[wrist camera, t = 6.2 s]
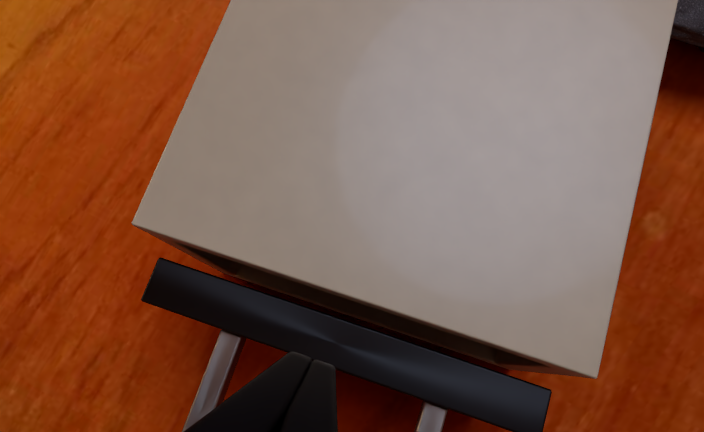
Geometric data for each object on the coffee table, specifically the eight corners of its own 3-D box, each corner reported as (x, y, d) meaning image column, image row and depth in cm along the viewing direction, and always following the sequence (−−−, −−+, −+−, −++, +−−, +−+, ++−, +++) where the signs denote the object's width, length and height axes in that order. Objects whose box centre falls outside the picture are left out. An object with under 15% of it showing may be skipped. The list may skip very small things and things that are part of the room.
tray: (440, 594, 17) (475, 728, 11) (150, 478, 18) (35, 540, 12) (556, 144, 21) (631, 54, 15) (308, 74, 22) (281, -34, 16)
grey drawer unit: (510, 370, 20) (597, 379, 12) (223, 273, 21) (130, 224, 13) (579, 96, 22) (688, -44, 14) (319, 27, 24) (290, -135, 16)
